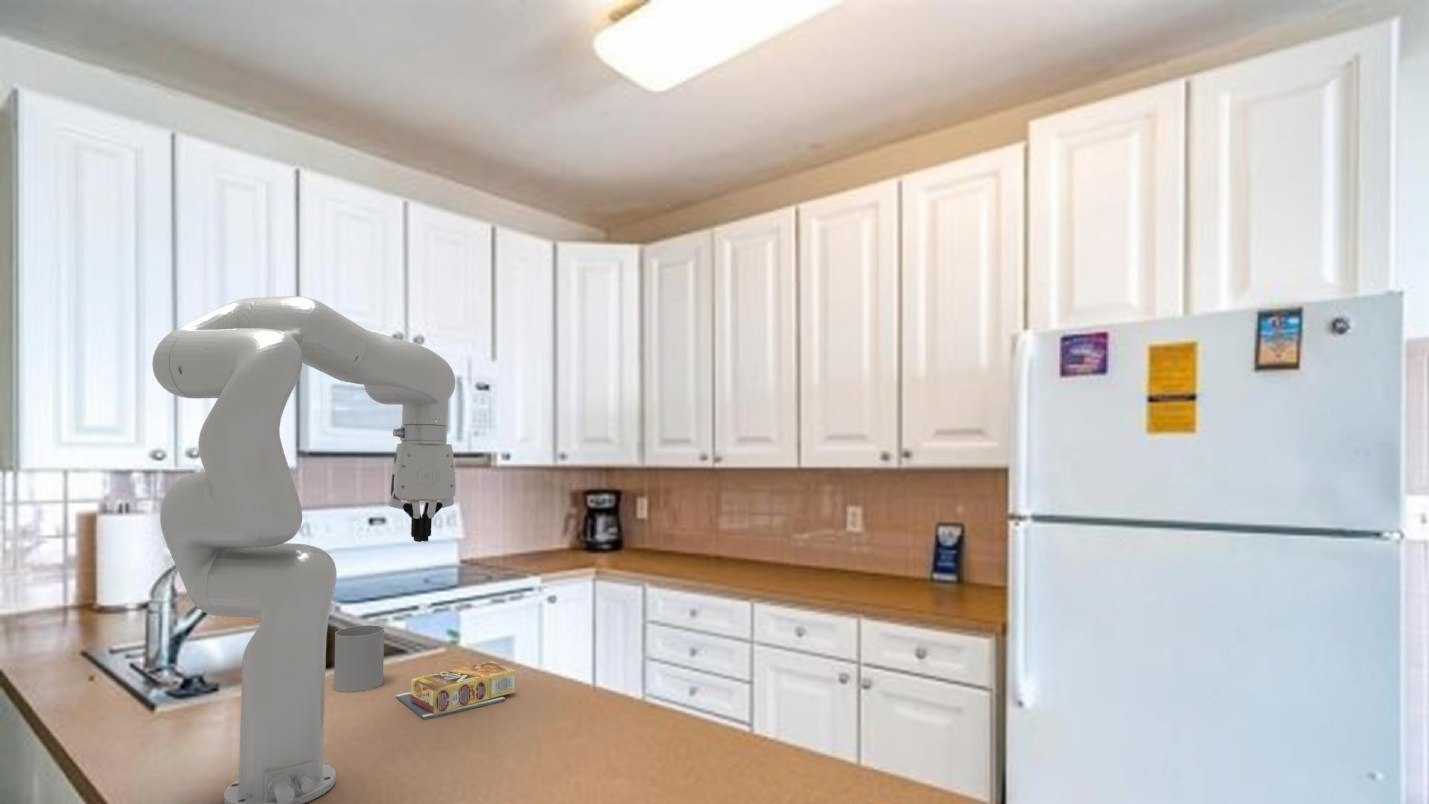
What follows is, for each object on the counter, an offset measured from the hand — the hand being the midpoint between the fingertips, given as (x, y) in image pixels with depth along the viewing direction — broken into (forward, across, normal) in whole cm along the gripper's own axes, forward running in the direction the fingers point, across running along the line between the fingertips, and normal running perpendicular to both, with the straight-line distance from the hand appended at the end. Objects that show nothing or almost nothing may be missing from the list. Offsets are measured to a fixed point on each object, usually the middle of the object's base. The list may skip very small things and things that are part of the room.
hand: (420, 540), depth 133 cm
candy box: (+25, +15, -2) cm, 29 cm away
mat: (+28, +6, -1) cm, 28 cm away
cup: (+28, -5, +18) cm, 33 cm away
